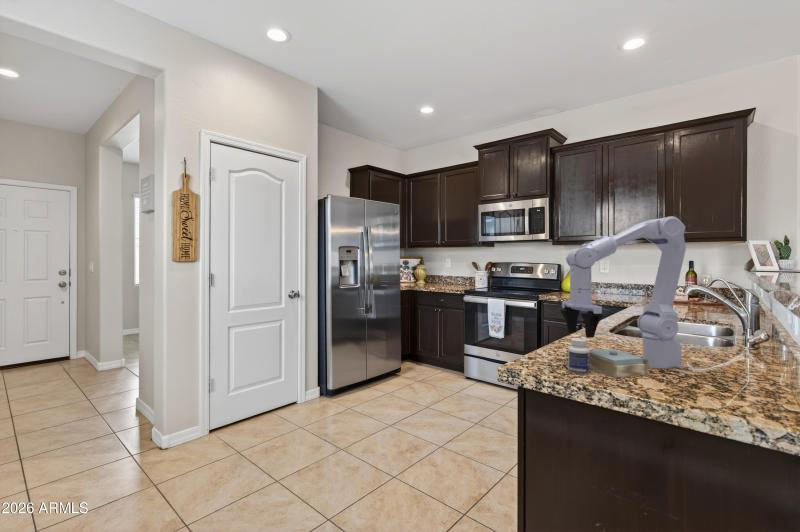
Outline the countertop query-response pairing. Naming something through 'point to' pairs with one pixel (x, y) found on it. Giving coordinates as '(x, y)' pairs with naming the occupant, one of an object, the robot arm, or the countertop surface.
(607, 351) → the lid
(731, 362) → the countertop surface
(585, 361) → the pill bottle
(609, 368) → the box
